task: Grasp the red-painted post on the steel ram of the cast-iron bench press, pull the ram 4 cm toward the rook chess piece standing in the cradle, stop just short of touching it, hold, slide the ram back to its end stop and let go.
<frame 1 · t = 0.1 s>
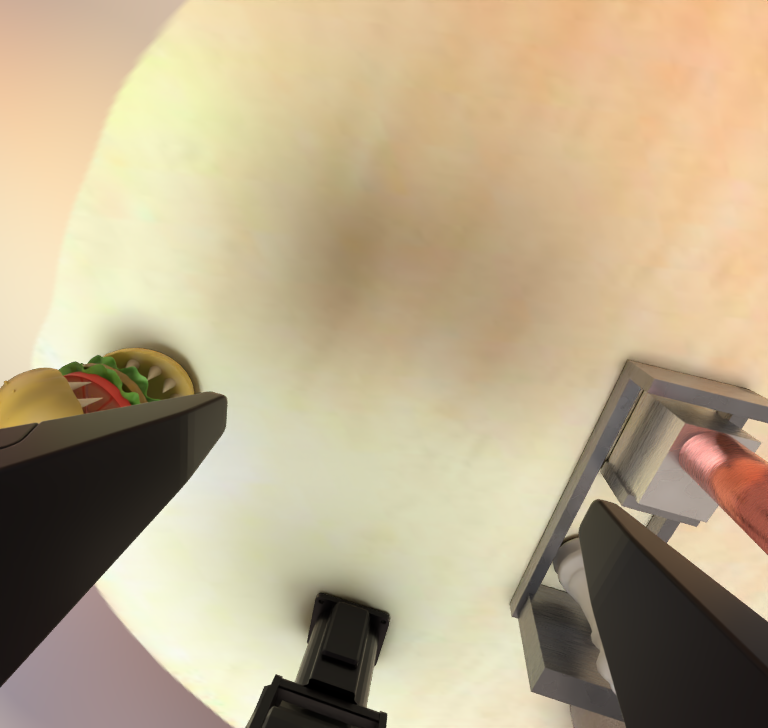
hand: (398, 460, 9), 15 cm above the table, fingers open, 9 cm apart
rook chess piece: (583, 555, 26), resting in press bed
pillar candle: (628, 706, 30), on the table
ram: (702, 491, 18), point 5 cm above the table, slide at 0.0 cm
hamburger: (162, 382, 27), on the table
press bed: (609, 514, 25), on the table
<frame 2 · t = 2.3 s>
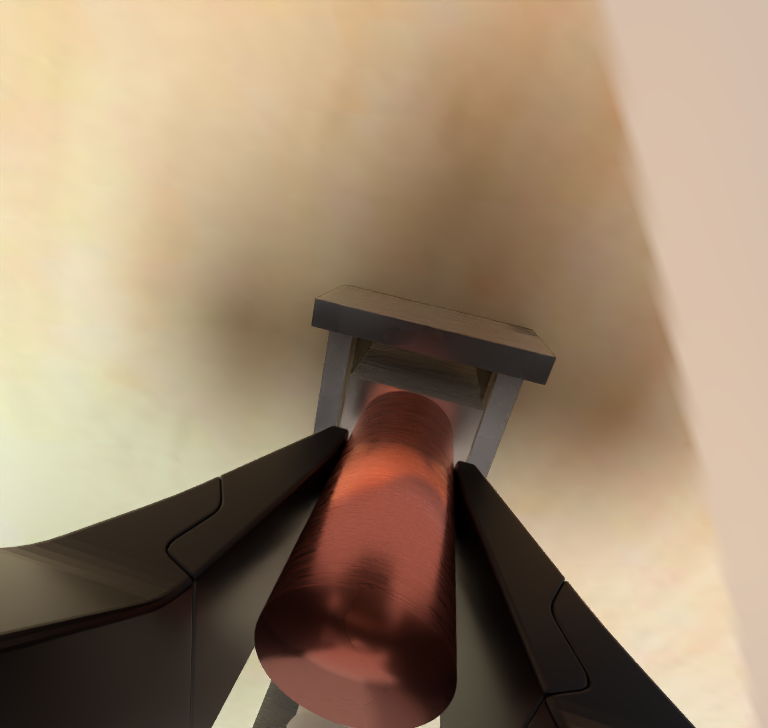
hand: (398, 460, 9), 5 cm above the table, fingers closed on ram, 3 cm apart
rook chess piece: (361, 591, 18), resting in press bed
ram: (387, 502, 10), point 5 cm above the table, slide at 0.0 cm, touching gripper
press bed: (377, 532, 16), on the table
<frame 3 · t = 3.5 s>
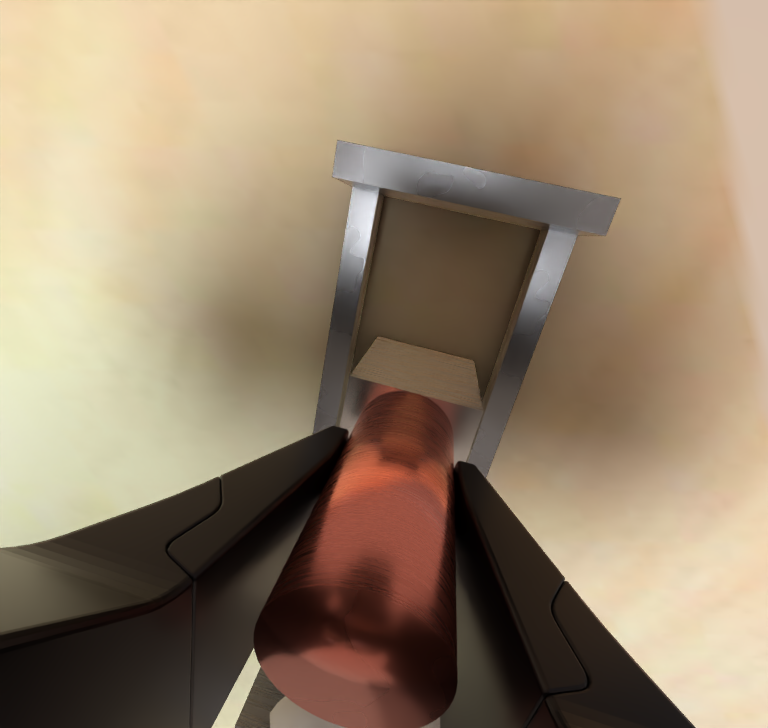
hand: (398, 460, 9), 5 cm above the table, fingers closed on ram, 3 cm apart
rook chess piece: (376, 533, 17), resting in press bed
ram: (386, 503, 10), point 5 cm above the table, slide at 3.9 cm, touching gripper
press bed: (395, 462, 15), on the table
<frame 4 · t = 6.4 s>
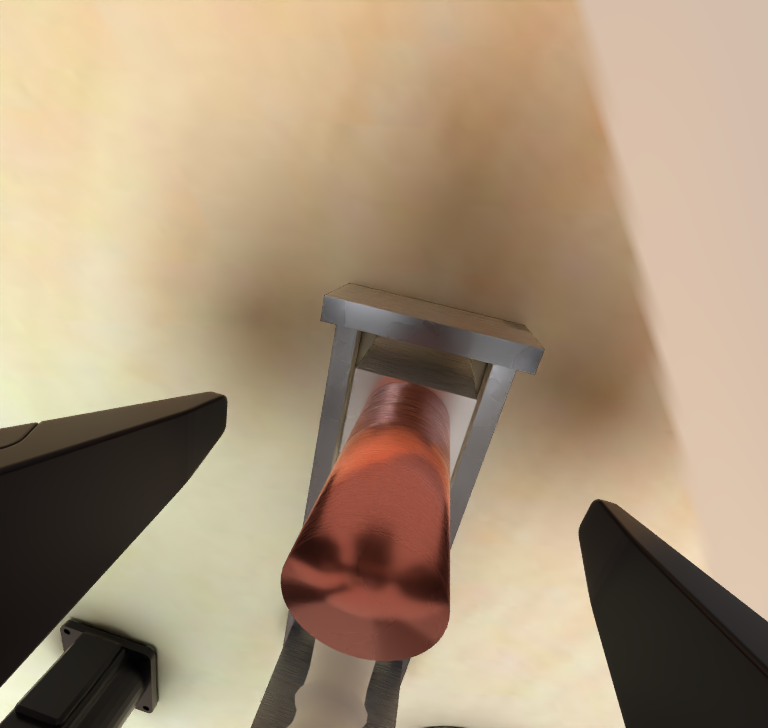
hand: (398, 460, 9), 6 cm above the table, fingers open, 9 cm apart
rook chess piece: (364, 575, 19), resting in press bed
ram: (389, 484, 11), point 5 cm above the table, slide at 0.1 cm
press bed: (379, 518, 17), on the table
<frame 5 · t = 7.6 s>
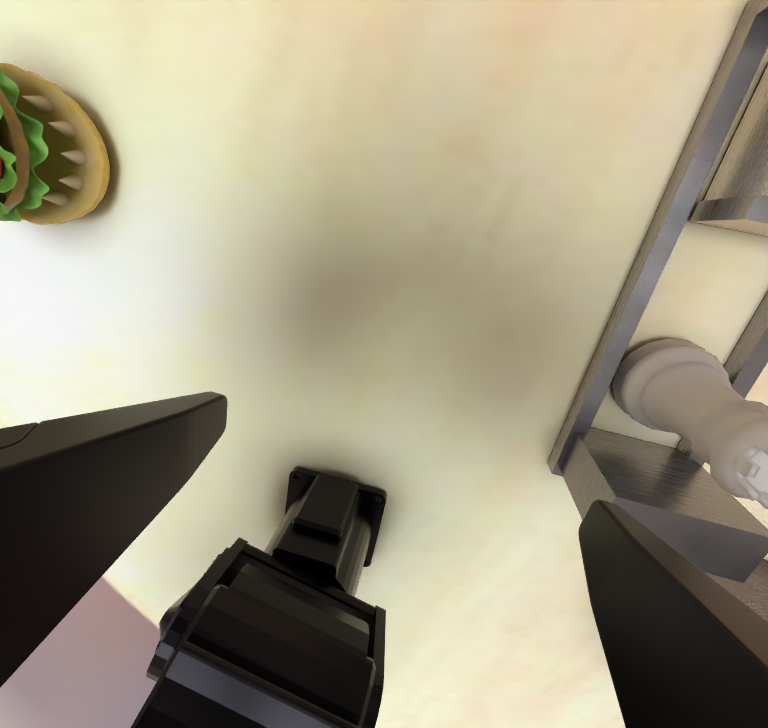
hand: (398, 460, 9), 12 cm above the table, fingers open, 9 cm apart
rook chess piece: (655, 376, 19), resting in press bed
pillar candle: (705, 606, 23), on the table
hamburger: (70, 158, 20), on the table
press bed: (698, 299, 17), on the table
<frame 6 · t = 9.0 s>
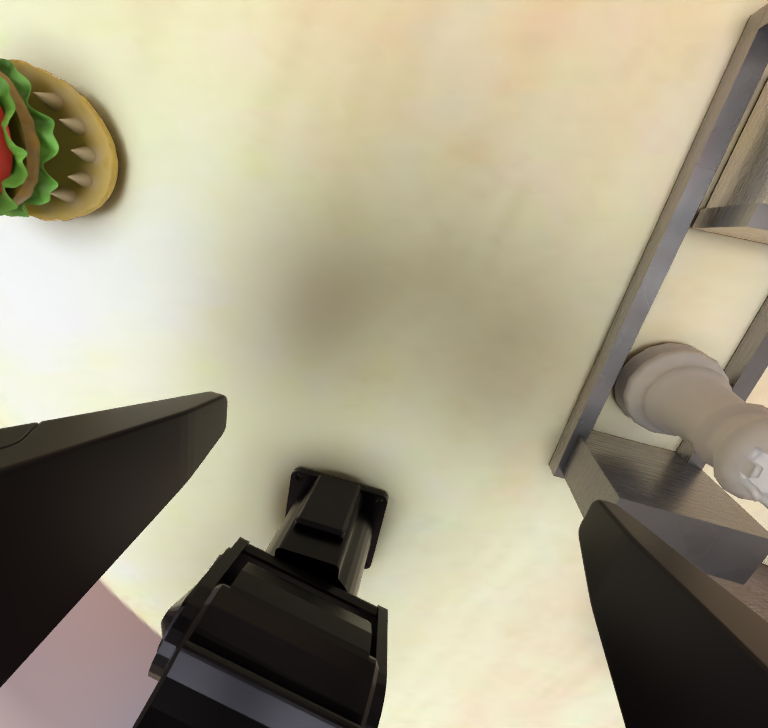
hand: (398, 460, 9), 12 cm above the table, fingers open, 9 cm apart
rook chess piece: (656, 380, 19), resting in press bed
pillar candle: (703, 609, 23), on the table
hamburger: (78, 155, 20), on the table
press bed: (699, 304, 17), on the table
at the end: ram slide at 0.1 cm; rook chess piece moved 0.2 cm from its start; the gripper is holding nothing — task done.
